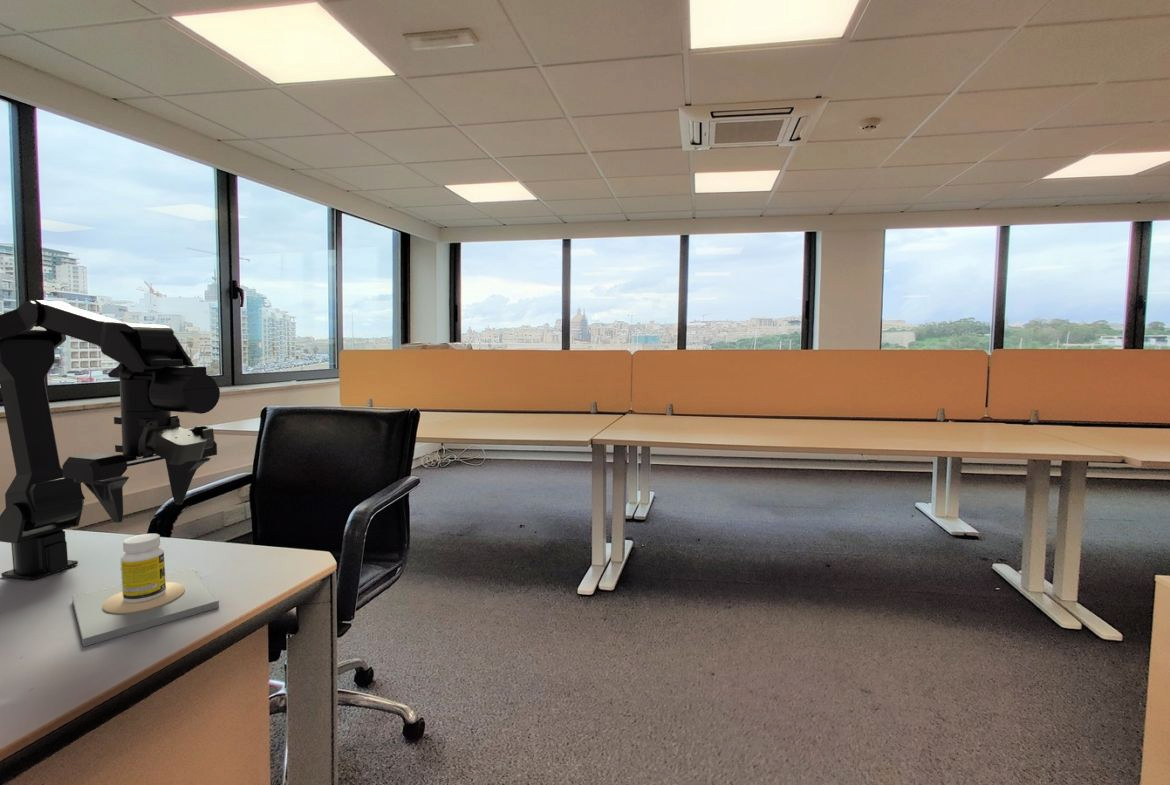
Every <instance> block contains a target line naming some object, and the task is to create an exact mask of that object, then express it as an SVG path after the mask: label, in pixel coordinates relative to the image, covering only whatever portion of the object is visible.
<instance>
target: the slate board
mask: <svg viewBox="0 0 1170 785" xmlns="http://www.w3.org/2000/svg"><path fill="white" fill-rule="evenodd" d="M165 581H166V591H165V593H164V594H162V595H161V596H159V597H157V598H154V599H151V600H148V601H144V602H139V603H128V602H125V601H124V600H123V593H122V583H121V584H115V585H113V586H108V587H105V588H99V589H95V590H92V591H91V590H90V591H87V592H83V593H78V594H74V595H72V604H73V609H74V614H75V618H76V622H77V626H78V630H79V634H80V638H81V642H82V647H83V648H84V647H86V646H90V645H94V644H97V643H101V642H104V641H105V642H106V641H109V640H112V639H114V638H115V639H116V638H119V637H121V636H125V635H129V634H132V633H135V632H139V631H142V630H143V631H144V630H145V629H150V628H152V627H156V626H160V625H163V624H166V623H170V622H173V621H177V620H181V619H184V618H187V617H188V618H189V617H190V616H194V615H197V614H201V613H204V612H208V611H211V610H216V609H218V608H220V602H219V601H220V600H219V599H218V598H217V597H216V595H215V594H214V593H213V592H212V591H211V589H210V588H209V587H208V585H207V584H206V583H205V581H204V580H203V579H202V577H200V575H199V574H198V573H197V571H196V570H195V569H194V568H193V567H188V568H183V569H180V570H175V571H172V572H168V573H165Z"/></svg>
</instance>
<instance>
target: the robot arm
mask: <svg viewBox="0 0 1170 785" xmlns="http://www.w3.org/2000/svg"><path fill="white" fill-rule="evenodd" d="M174 333H175V332H174V330H173V328H171V327H169V326H168V325H165V324H164V325H163V324H152V323H139V322H138V323H137V322H126V321H121V320H118V319H115V318H111V317H108V316H106V315H105V316H104V315H102V314H98V313H94V312H91V311H88V310H85V309H81V308H78V307H76V306H72V305H71V304H69V303H66V302H65V301H56V300H55V301H54V300H42V299H41V300H38V299H32V300H26V301H25V302H23V303H22V304H20V305H19V306H18V307H17V308H15V309H13V310H10V311H7V312H4V313H1V314H0V394H1V398H2V403H3V408H4V415H5V419H6V424H7V430H8V435H9V440H10V446H11V450H12V455H13V456H12V457H13V462H14V468H15V476H14V477H13V479H12V482H10V483H11V484H10V485H9V486H8V488H7V489H6V491H5V493H4V499H5V508H4V510H3V511H2V512H1V513H0V542H1V543H7V544H8V543H9V544H11V545H10V546H11V552H12V553H11V555H12V556H11V558H12V569H10V570H6V571H3V572H1V573H0V574H1V577H3V578H4V577H5V578H13V579H22V580H29V581H30V580H31V581H33V580H37V579H39V578H43V577H45V576H49V575H51V574H53V573H56V572H60V571H62V570H65V569H68V568H70V567H74V566H76V565H79V561H78V560H72V559H69V557H68V542H67V540H66V530H67V529H71V528H75V527H79V525H80V521H81V517H82V513H83V512H82V511H83V509H84V504H85V499H86V498H85V496H84V492H83V490H82V483H83V484H84V485H85V487H86V488H87V489H88V490H89V491H90V492H91V493H92V494H93V495H94V497H95V498H96V500H98V502H99V504H100V505H101V506H102V508H103V509H104V511H105V512H106V513H107V515H108V516H109V518H110V519H111V520H112V522H113V523H119V524H120V523H122V522H123V518H124V493H123V490H124V489H123V488H124V485H125V484H126V483H127V482H128V480H129V478H130V477H129V476H125V475H124V474H125V472H126V471H127V470H128V467H132V466H137V465H141V464H146V463H151V462H155V461H161V460H165V465H166V470H167V476H168V479H169V480H168V481H169V487H170V491H171V496H172V499H173V502H174V504H175V505H182V504H183V503H184V501H185V498H186V496H187V494H188V492H189V488H190V486H191V482H192V480H193V478H194V476H195V474H196V472H197V470H198V469H200V467H201V466H203V465H204V464H205V463H208V462H209V461H210V460H211V459H212V458H211V457H213V456H217V455H218V443H217V442H216V441H215V434H214V428H213V427H211V426H209V424H204V425H198V426H195V427H193V428H191V427H190V428H184V427H182V426H181V423H180V422H181V420H180V418H179V415H177V414H176V415H175V414H171V413H173V412H174V413H186V414H198V415H199V414H206V413H209V412H210V411H212V410H213V409H214V408H215V407H216V406H217V404H218V403H219V400H220V395H221V391H220V388H219V387H218V384H217V382H216V380H215V379H214V378H213V377H212V376H210V375H208V374H207V367H206V366H205V365H197V366H196V365H194V363H193V362H192V358H190V357H189V355H188V354H187V353H186V351H185V349H184V348H183V346H182V345H181V343H180V341H179V339H178V338H177V337H176V335H175V334H174ZM67 336H68V337H71V338H73V339H77V340H80V341H82V342H86V343H90V344H92V345H96V346H97V347H99V348H100V351H101V353H102V354H103V355H104V356H107V357H108V358H110V359H112V360H114V361H115V362H117V363H119V364H118V365H117V366H116V367H114V368H113V369H111V370H110V371H109V372H108V373H107V376H108V378H113V379H119V394H120V395H119V396H120V397H119V398H120V416H113V424H114V425H121V443H119V444H115V445H114V446H115V447H114V452H115V453H108V452H107V453H106V452H98V451H95V452H90V453H84V454H83V453H82V454H78V455H72V456H68V458H66V460H65V461H64V462H63V464H62V466H61V462H60V456H59V452H58V446H57V440H56V434H55V430H54V428H55V427H54V424H53V423H54V422H53V418H52V412H51V408H50V401H49V397H48V390H47V385H46V377H47V376H48V374H49V372H50V370H51V369H52V368H53V366H54V364H55V362H56V352H55V350H56V349H57V348H58V347H60V346H61V345H62V344H63V343H65V342H66V340H67ZM120 453H122V454H120ZM123 475H124V476H123Z"/></svg>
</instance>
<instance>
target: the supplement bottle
mask: <svg viewBox="0 0 1170 785" xmlns="http://www.w3.org/2000/svg"><path fill="white" fill-rule="evenodd" d="M160 536H161V535H160V534H158V533H141V534H139V535H134V536H131V537H128V538H126V539H124V540H123V541H122V551H123V554H122V555H121V556H120V571H121V572H120V573H121V584H122V593H123V600H124V601H125V602H128V603H139V602H144V601H148V600H151V599H154V598H157V597H159V596H161V595H162V594H164V593H165V591H166V581H165V574H166V568H165V551H164V549H163V548H162V547H160V546H161V537H160Z"/></svg>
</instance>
